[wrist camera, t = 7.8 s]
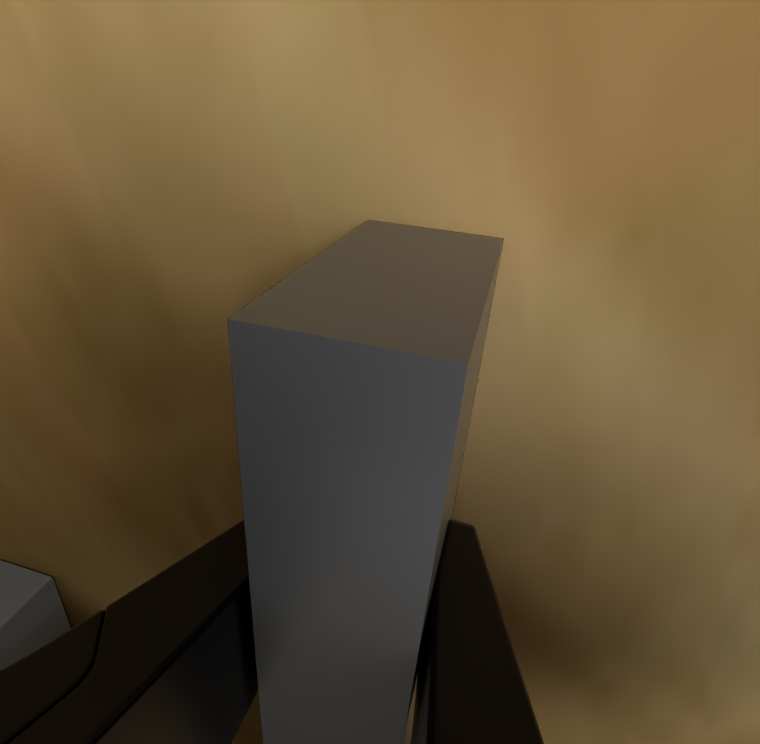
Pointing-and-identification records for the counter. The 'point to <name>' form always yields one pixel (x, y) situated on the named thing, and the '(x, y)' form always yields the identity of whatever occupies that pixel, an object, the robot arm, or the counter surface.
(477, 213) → the counter surface
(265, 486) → the grey t-shaped bar
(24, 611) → the grey step stool
